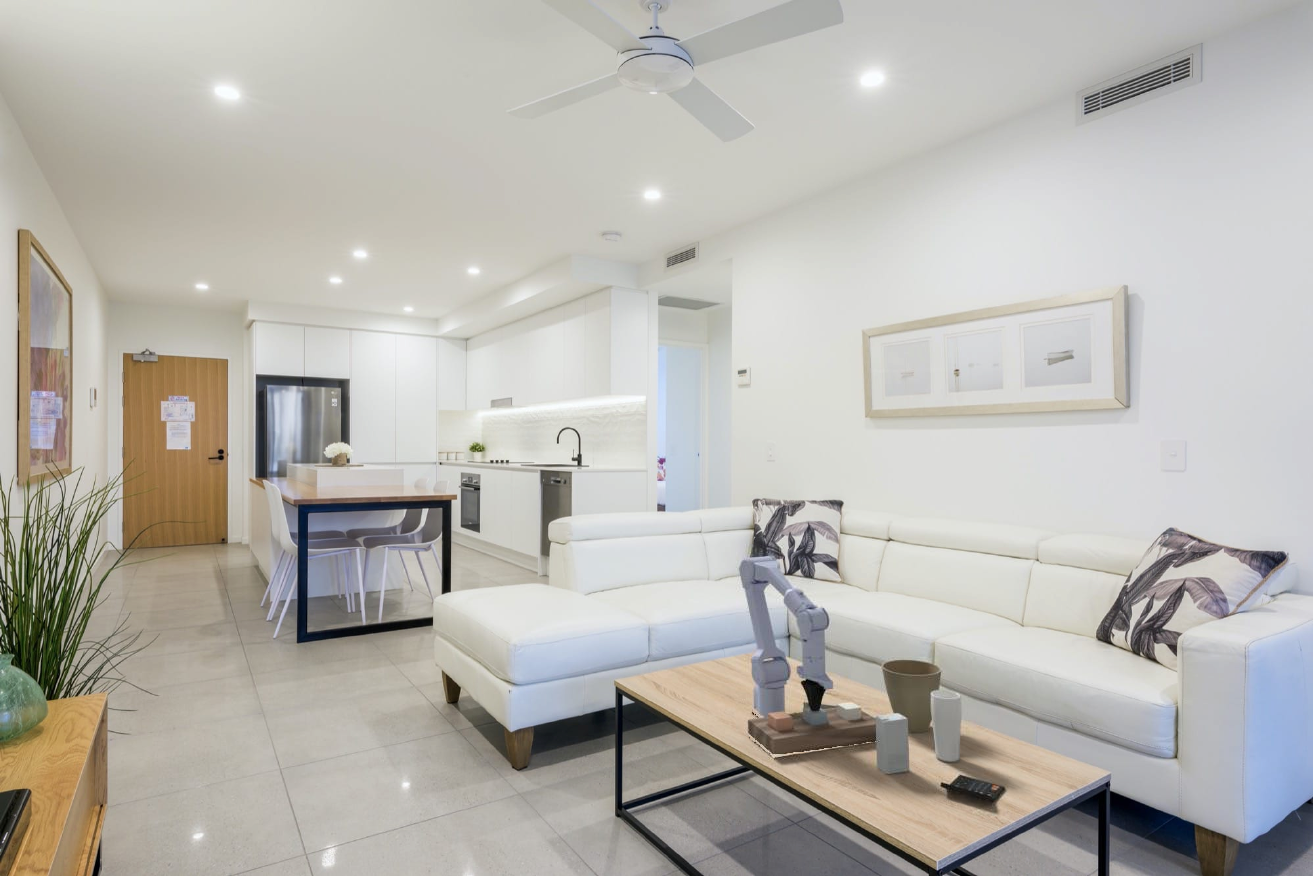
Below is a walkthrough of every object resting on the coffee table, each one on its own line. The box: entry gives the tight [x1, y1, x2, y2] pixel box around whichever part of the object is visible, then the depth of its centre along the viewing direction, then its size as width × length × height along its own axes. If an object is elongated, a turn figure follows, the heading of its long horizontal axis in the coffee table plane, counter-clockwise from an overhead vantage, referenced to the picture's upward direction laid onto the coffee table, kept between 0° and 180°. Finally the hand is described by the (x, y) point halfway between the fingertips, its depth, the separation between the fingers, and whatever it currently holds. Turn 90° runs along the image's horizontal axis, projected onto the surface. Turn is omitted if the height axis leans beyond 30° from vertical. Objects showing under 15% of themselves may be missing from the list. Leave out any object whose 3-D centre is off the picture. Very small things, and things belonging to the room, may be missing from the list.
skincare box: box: [875, 713, 910, 775], centre depth 163 cm, size 6×4×12 cm
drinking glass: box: [931, 689, 963, 763], centre depth 168 cm, size 7×7×15 cm
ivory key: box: [836, 701, 862, 721], centre depth 184 cm, size 4×4×4 cm
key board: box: [747, 706, 876, 754], centre depth 181 cm, size 14×31×4 cm, turn 108°
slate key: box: [802, 707, 827, 726], centre depth 181 cm, size 4×4×4 cm
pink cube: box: [768, 711, 792, 731], centre depth 178 cm, size 4×4×4 cm
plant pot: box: [881, 659, 942, 733], centre depth 188 cm, size 15×15×16 cm
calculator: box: [940, 774, 1006, 804], centre depth 151 cm, size 9×12×3 cm
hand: (814, 709), depth 181 cm, fingers closed
